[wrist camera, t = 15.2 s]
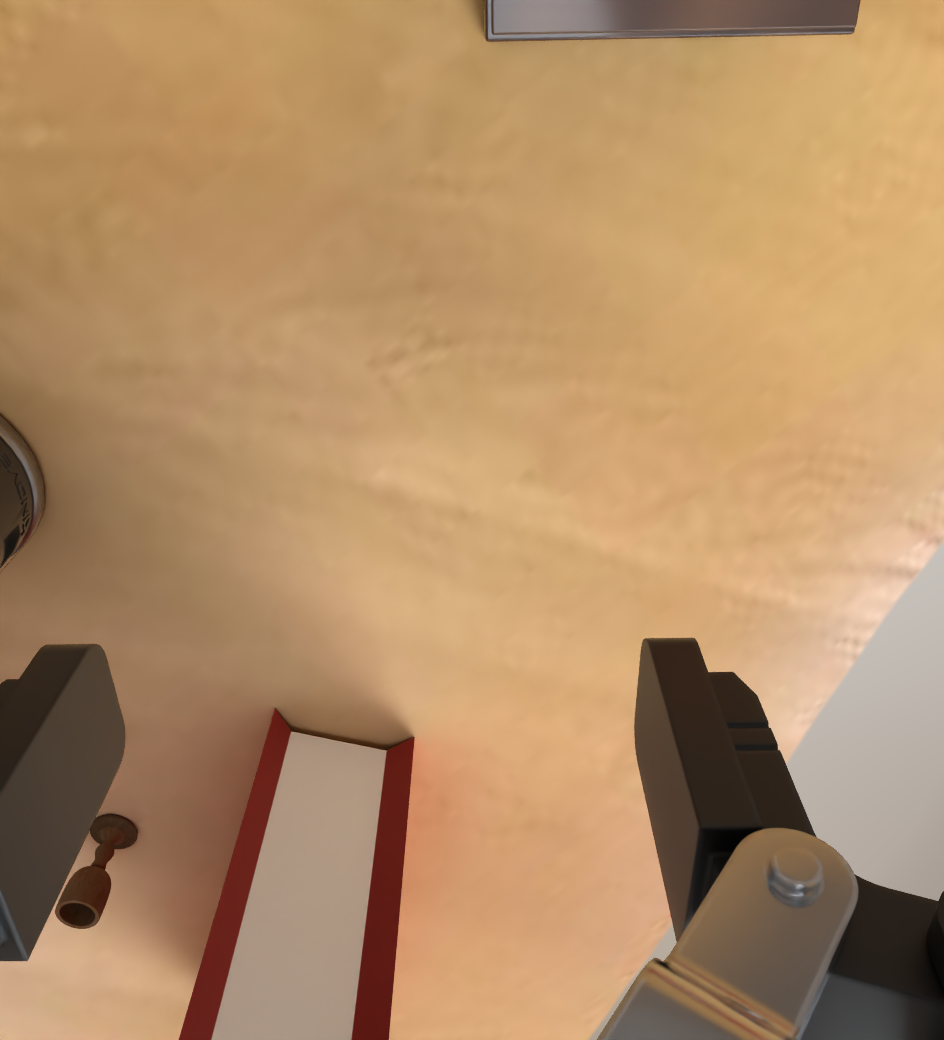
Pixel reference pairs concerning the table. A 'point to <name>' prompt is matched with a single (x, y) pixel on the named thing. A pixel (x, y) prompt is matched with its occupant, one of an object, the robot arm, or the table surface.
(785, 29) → the glossy dark brown block
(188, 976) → the table surface
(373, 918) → the book
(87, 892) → the place setting
